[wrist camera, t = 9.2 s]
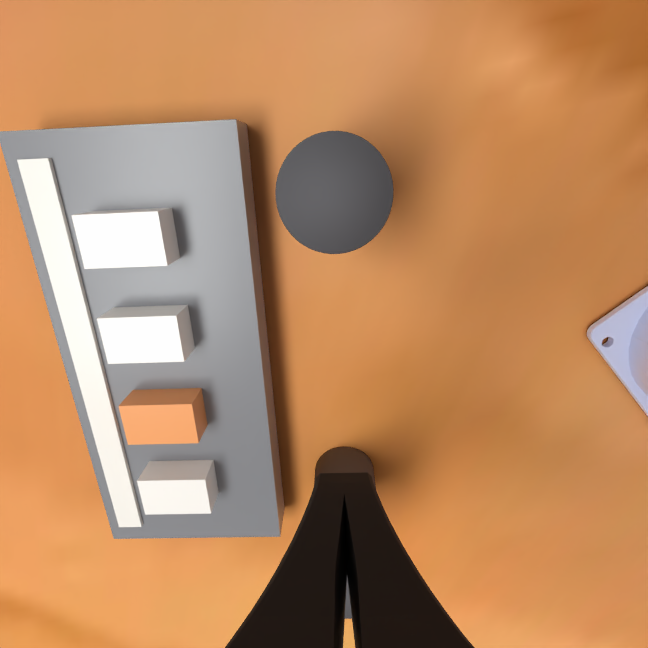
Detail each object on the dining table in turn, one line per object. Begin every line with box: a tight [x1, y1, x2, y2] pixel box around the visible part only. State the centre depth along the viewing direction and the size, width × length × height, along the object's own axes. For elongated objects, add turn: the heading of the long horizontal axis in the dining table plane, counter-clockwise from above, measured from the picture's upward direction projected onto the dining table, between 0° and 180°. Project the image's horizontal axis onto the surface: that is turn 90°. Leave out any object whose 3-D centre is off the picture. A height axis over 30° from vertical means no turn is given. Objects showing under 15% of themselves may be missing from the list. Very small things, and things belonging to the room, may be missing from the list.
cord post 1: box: [276, 131, 393, 254], centre depth 15 cm, size 3×3×7 cm
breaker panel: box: [0, 119, 284, 539], centre depth 19 cm, size 20×9×3 cm, turn 3°
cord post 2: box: [314, 447, 376, 619], centre depth 20 cm, size 3×3×7 cm
